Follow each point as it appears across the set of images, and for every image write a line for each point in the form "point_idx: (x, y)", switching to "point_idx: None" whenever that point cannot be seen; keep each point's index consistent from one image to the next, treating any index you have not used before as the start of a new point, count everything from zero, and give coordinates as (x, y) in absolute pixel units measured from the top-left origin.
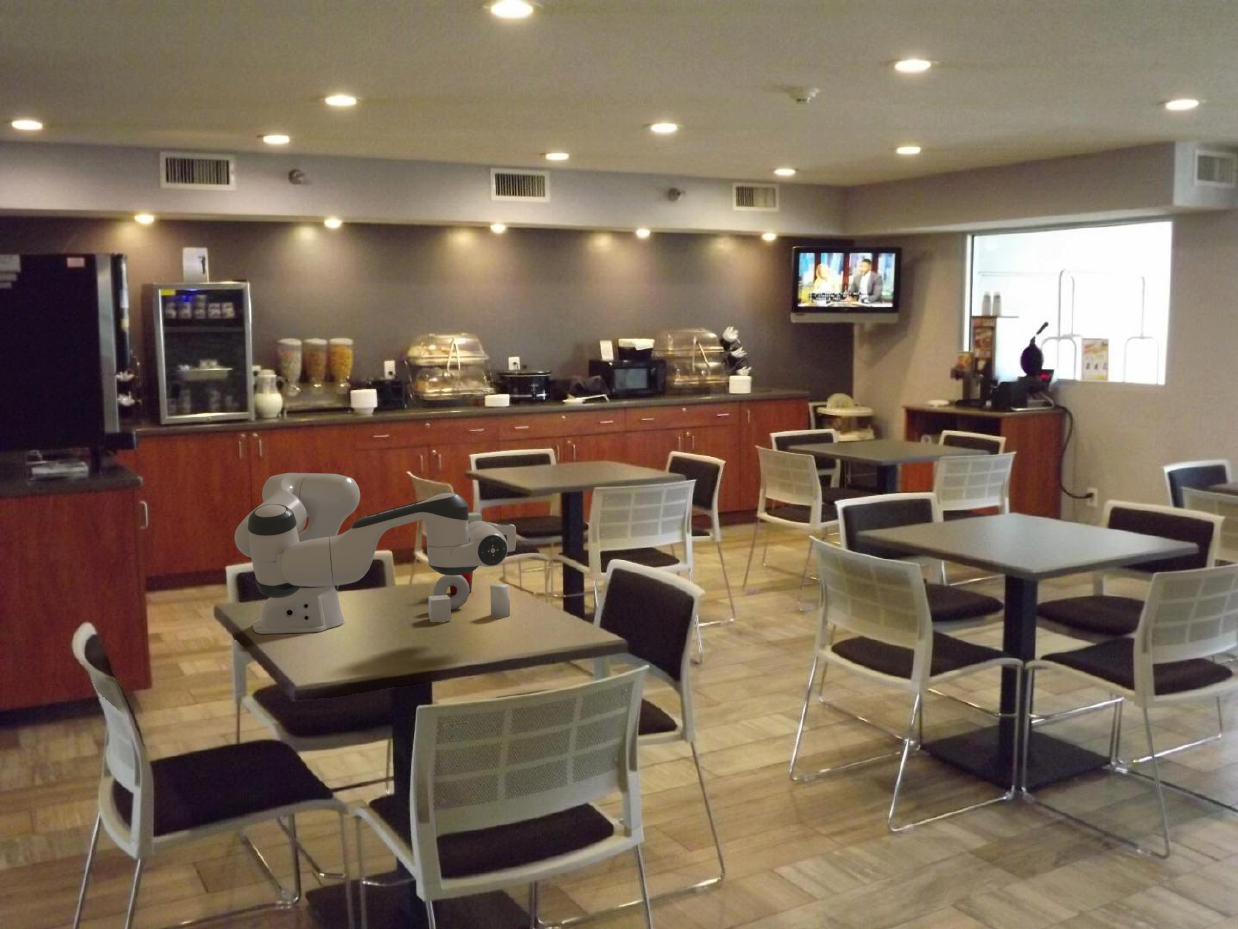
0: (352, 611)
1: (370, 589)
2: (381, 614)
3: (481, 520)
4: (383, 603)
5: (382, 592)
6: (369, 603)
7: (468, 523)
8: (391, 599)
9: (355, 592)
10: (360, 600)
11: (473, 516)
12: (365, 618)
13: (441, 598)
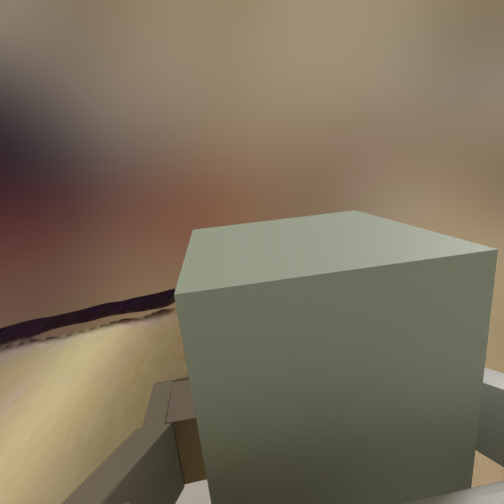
0: (57, 421)
1: (149, 320)
2: (94, 450)
3: (482, 326)
4: (136, 377)
5: (158, 330)
6: (114, 375)
7: (297, 388)
8: (157, 358)
9: (125, 329)
10: (110, 360)
11: (372, 281)
12: (41, 484)
13: (203, 497)
